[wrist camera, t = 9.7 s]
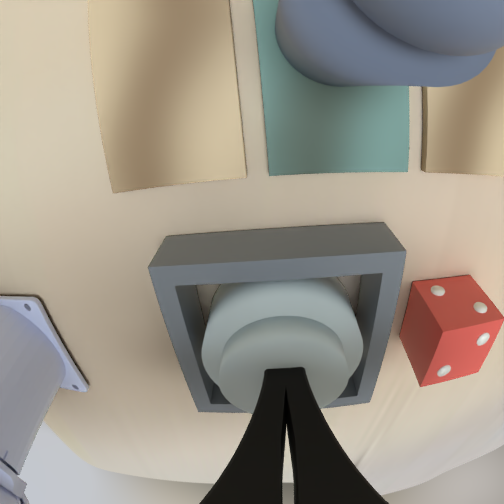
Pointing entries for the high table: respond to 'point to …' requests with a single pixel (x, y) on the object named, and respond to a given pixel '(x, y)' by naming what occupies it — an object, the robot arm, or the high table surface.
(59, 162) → the high table surface
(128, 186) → the track
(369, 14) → the pawn
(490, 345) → the red die
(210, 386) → the dome frame
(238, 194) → the high table surface
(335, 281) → the dome
